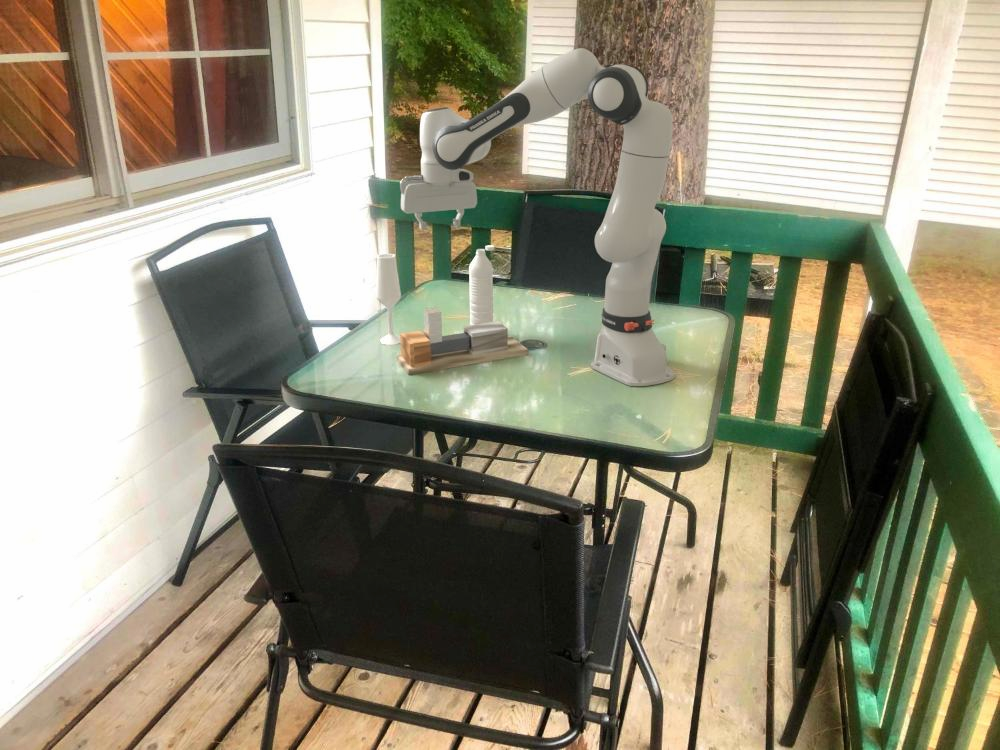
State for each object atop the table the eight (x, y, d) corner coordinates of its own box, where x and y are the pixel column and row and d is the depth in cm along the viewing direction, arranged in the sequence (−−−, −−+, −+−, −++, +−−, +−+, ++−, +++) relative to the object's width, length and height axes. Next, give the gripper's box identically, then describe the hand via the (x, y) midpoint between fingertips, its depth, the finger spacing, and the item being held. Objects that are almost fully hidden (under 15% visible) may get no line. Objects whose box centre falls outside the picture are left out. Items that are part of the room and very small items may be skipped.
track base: (527, 354, 204) (528, 327, 201) (408, 374, 192) (407, 346, 189) (511, 342, 212) (512, 315, 209) (396, 360, 200) (395, 333, 197)
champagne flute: (387, 346, 209) (382, 260, 200) (374, 340, 214) (368, 255, 205) (408, 340, 214) (403, 256, 204) (394, 334, 218) (389, 251, 209)
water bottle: (484, 342, 212) (483, 253, 202) (465, 337, 216) (463, 250, 206) (502, 333, 219) (502, 246, 209) (483, 328, 222) (482, 243, 212)
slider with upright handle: (495, 345, 202) (495, 304, 198) (415, 358, 194) (413, 315, 190) (489, 340, 206) (489, 299, 201) (410, 353, 198) (408, 310, 193)
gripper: (403, 178, 191) (405, 233, 197) (479, 173, 199) (479, 226, 204) (395, 174, 197) (398, 228, 202) (470, 169, 204) (470, 221, 210)
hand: (440, 227), depth 203 cm, fingers open, 8 cm apart
